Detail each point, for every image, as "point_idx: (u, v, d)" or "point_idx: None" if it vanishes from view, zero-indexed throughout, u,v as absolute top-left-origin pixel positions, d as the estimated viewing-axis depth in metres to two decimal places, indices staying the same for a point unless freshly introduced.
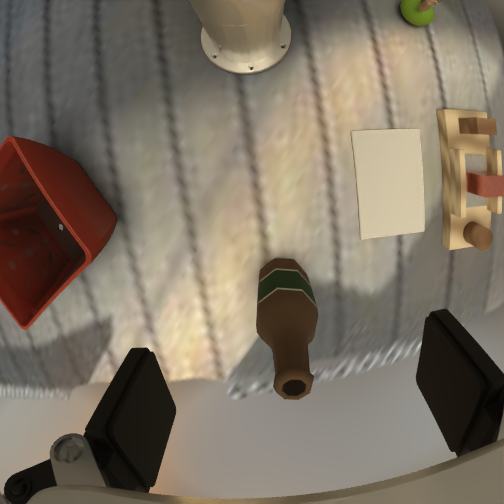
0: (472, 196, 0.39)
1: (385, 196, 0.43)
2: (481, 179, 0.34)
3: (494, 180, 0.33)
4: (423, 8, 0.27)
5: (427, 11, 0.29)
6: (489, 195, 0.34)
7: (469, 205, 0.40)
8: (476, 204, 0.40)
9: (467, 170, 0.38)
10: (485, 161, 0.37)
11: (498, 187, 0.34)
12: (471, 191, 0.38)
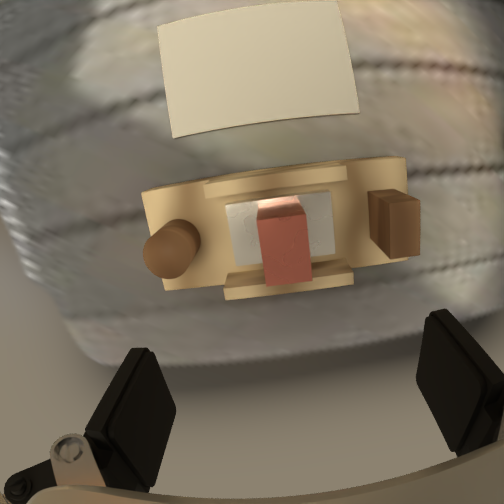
0: (250, 223, 0.24)
1: (231, 51, 0.23)
2: (296, 212, 0.20)
3: (298, 249, 0.20)
4: None
5: None
6: (262, 235, 0.19)
7: (231, 217, 0.24)
8: (235, 236, 0.25)
9: (301, 204, 0.24)
10: (324, 252, 0.25)
11: (284, 263, 0.20)
12: (261, 208, 0.22)
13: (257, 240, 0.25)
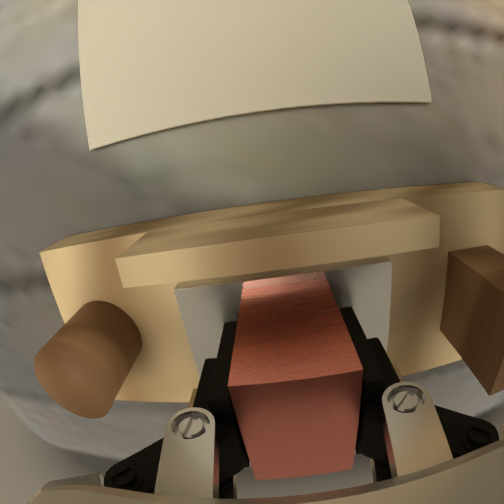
0: None
1: None
2: (334, 353, 0.07)
3: (331, 432, 0.07)
4: None
5: None
6: (245, 414, 0.07)
7: (187, 313, 0.12)
8: (198, 345, 0.12)
9: (332, 288, 0.11)
10: None
11: (296, 453, 0.07)
12: (247, 309, 0.10)
13: None
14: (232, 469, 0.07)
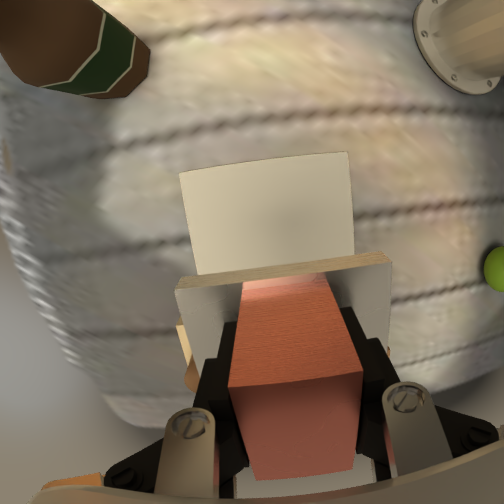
0: None
1: (249, 207, 0.30)
2: (334, 354, 0.07)
3: (331, 433, 0.07)
4: None
5: None
6: (245, 415, 0.07)
7: (187, 313, 0.12)
8: (198, 346, 0.12)
9: (332, 288, 0.11)
10: None
11: (296, 454, 0.07)
12: (247, 310, 0.10)
13: None
14: (232, 469, 0.07)
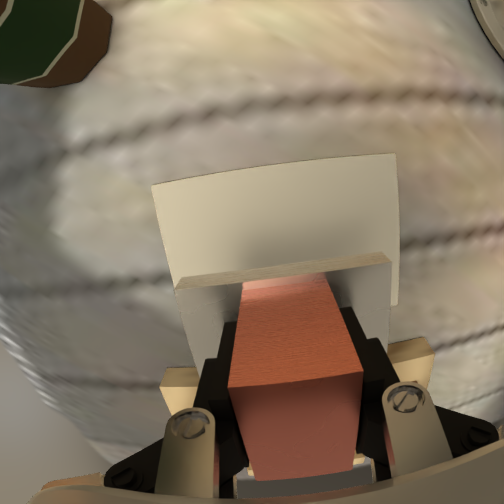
0: None
1: (253, 235, 0.21)
2: (335, 354, 0.07)
3: (331, 433, 0.07)
4: None
5: None
6: (245, 415, 0.07)
7: (187, 313, 0.12)
8: (198, 346, 0.12)
9: (332, 288, 0.11)
10: None
11: (296, 454, 0.07)
12: (247, 310, 0.10)
13: None
14: (232, 469, 0.07)
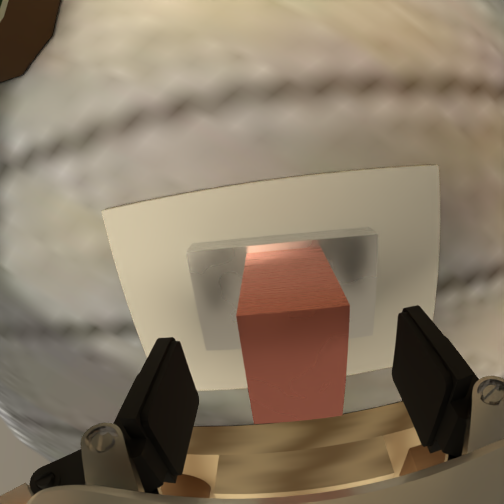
0: (230, 285, 0.13)
1: None
2: (326, 294, 0.09)
3: (323, 370, 0.09)
4: None
5: None
6: (249, 346, 0.09)
7: (196, 274, 0.13)
8: (203, 306, 0.14)
9: (325, 255, 0.13)
10: (355, 333, 0.14)
11: (291, 392, 0.09)
12: (251, 266, 0.11)
13: None
14: (149, 484, 0.06)
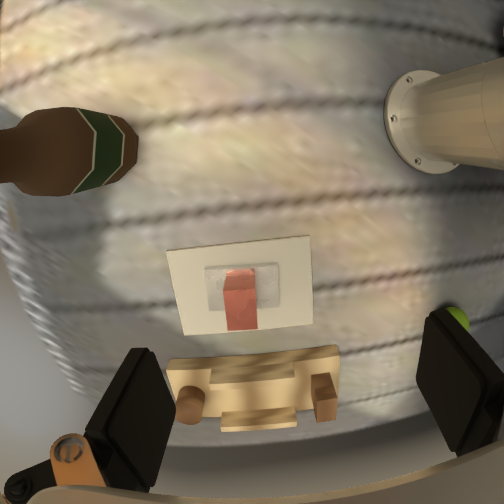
0: (220, 283, 0.35)
1: None
2: (249, 286, 0.30)
3: (249, 309, 0.30)
4: None
5: None
6: (226, 300, 0.30)
7: (207, 279, 0.35)
8: (209, 291, 0.35)
9: (256, 273, 0.34)
10: (271, 306, 0.36)
11: (239, 317, 0.30)
12: (228, 277, 0.33)
13: None
14: None
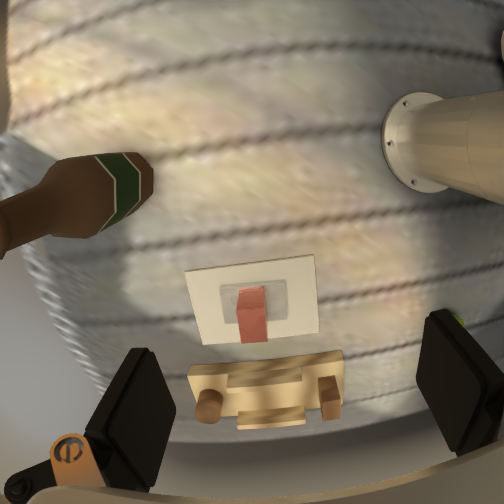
0: (234, 300, 0.39)
1: None
2: (259, 304, 0.34)
3: (259, 325, 0.34)
4: None
5: None
6: (239, 317, 0.34)
7: (222, 296, 0.39)
8: (224, 307, 0.39)
9: (266, 290, 0.38)
10: (280, 318, 0.39)
11: (251, 331, 0.34)
12: (240, 295, 0.37)
13: None
14: None
